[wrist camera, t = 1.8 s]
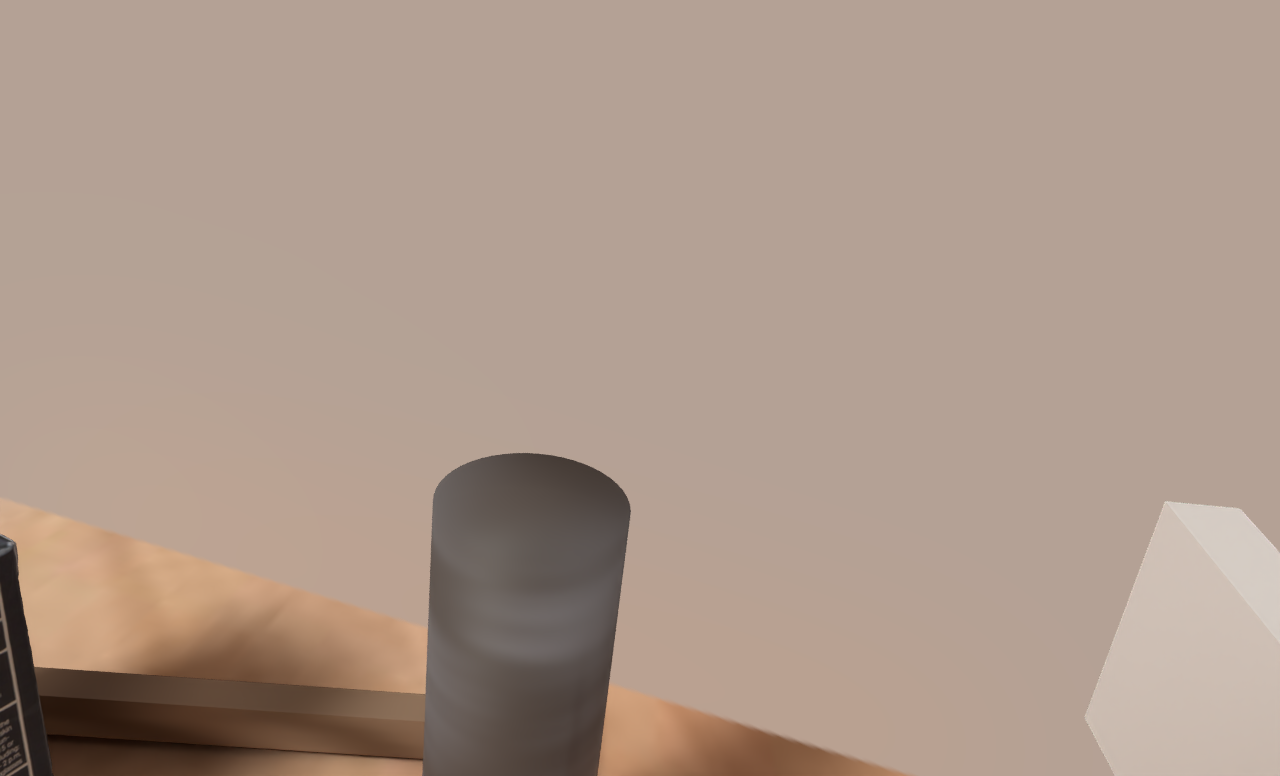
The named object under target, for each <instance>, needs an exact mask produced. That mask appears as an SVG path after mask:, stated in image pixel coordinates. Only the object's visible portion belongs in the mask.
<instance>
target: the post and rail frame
mask: <svg viewBox="0 0 1280 776" xmlns="http://www.w3.org/2000/svg"><path fill="white" fill-rule="evenodd" d="M630 512H631V510H630V504H629V501H628V498H627V496H626V495H625V493H624V492H623V490H622V489H621V488H620V487H619V486H618V485H617V484H616V483H615V482H614V481H613V480H612V479H611V478H609V477H607V476H606V475H605V474H603V473H602V472H600V471H598V470H596V469H594V468H592V467H590V466H587V465H585V464H582V463H579V462H576V461H574V460H570V459H566V458H562V457H557V456H551V455H543V454H532V453H531V454H530V453H513V454H502V455H495V456H490V457H485V458H481V459H478V460H475V461H472V462H469V463H467V464H465V465H462V466H460V467H458V468H457V469H455V470H453V471H452V472H451V473H449V474H448V475H447V476H446V477H445V478H444V479H443V480H442V481H441V482H440V483H439V485H438V486H437V488H436V491H435V493H434V498H433V516H432V541H431V567H430V568H431V569H430V593H429V619H428V621H429V622H428V645H427V671H426V694H413V693H399V692H385V691H370V690H356V689H342V688H328V687H313V686H299V685H285V684H270V683H256V682H242V681H227V680H213V679H199V678H185V677H170V676H156V675H142V674H127V673H113V672H99V671H84V670H70V669H56V668H42V667H34V669H35V675H36V680H37V686H38V692H39V696H40V703H41V708H42V712H43V719H44V725H45V728H46V734H54V735H69V736H84V737H99V738H114V739H129V740H145V741H160V742H175V743H190V744H205V745H220V746H235V747H250V748H266V749H281V750H296V751H311V752H326V753H341V754H356V755H371V756H387V757H402V758H417V759H423V776H597V773H598V766H599V758H600V750H601V742H602V734H603V726H604V718H605V710H606V703H607V695H608V687H609V679H610V671H611V663H612V655H613V647H614V639H615V632H616V623H617V616H618V608H619V599H620V592H621V584H622V575H623V568H624V561H625V553H626V545H627V537H628V529H629V521H630Z"/></svg>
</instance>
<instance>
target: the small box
mask: <svg viewBox="0 0 1280 776" xmlns="http://www.w3.org/2000/svg"><path fill="white" fill-rule="evenodd" d="M18 575H19V571H18V553H17V546H16V543H15V542H14V541H13V540H11V539H9V538H7V537H6V536H4V535H2V534H0V776H53V773H52V762H51V757H50V751H49V746H48V740H47V734H46V728H45V725H44V719H43V712H42V708H41V703H40V696H39V692H38V686H37V680H36V675H35V669H34V664H33V658H32V651H31V646H30V642H29V636H28V629H27V625H26V620H25V616H24V610H23V602H22V597H21V592H20V586H19V580H18Z"/></svg>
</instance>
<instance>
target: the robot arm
mask: <svg viewBox="0 0 1280 776" xmlns="http://www.w3.org/2000/svg"><path fill="white" fill-rule="evenodd" d="M1085 720H1086V722H1087V723H1088V725H1089V727H1090V729H1091V731H1092V733H1093V735H1094V737H1095V739H1096V741H1097V743H1098V744H1099V746H1100V748H1101V750H1102V752H1103V754H1104V755H1105V758H1106V760H1107V761H1108V764H1109V765H1110V767H1111V769H1112V771H1113V773H1114V775H1115V776H1280V552H1279V551H1278V550H1277V549H1276V548H1275V547H1274V546H1273V545H1272V543H1270V541H1269V540H1268V539H1267V538H1266V537H1265V536H1264V535H1263V534H1262V532H1261V531H1260V530H1259V529H1258V528H1257V527H1256V526H1255V525H1254V524H1253V522H1252V521H1251V520H1250V519H1249V518H1248V517H1247V516H1246V515H1245V514H1244V513H1243V511H1242V510H1241V509H1239V508H1229V507H1219V506H1209V505H1198V504H1188V503H1177V502H1167V501H1166V502H1165V503H1164V506H1163V509H1162V511H1161V514H1160V517H1159V519H1158V522H1157V525H1156V528H1155V530H1154V533H1153V535H1152V538H1151V541H1150V543H1149V546H1148V549H1147V551H1146V554H1145V557H1144V560H1143V562H1142V565H1141V568H1140V570H1139V573H1138V576H1137V578H1136V581H1135V584H1134V587H1133V589H1132V592H1131V594H1130V597H1129V600H1128V602H1127V605H1126V608H1125V611H1124V613H1123V616H1122V619H1121V621H1120V624H1119V627H1118V629H1117V632H1116V635H1115V637H1114V640H1113V643H1112V645H1111V648H1110V651H1109V654H1108V656H1107V659H1106V661H1105V664H1104V667H1103V669H1102V672H1101V675H1100V678H1099V680H1098V683H1097V686H1096V688H1095V691H1094V694H1093V696H1092V699H1091V702H1090V705H1089V707H1088V710H1087V712H1086V715H1085Z"/></svg>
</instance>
